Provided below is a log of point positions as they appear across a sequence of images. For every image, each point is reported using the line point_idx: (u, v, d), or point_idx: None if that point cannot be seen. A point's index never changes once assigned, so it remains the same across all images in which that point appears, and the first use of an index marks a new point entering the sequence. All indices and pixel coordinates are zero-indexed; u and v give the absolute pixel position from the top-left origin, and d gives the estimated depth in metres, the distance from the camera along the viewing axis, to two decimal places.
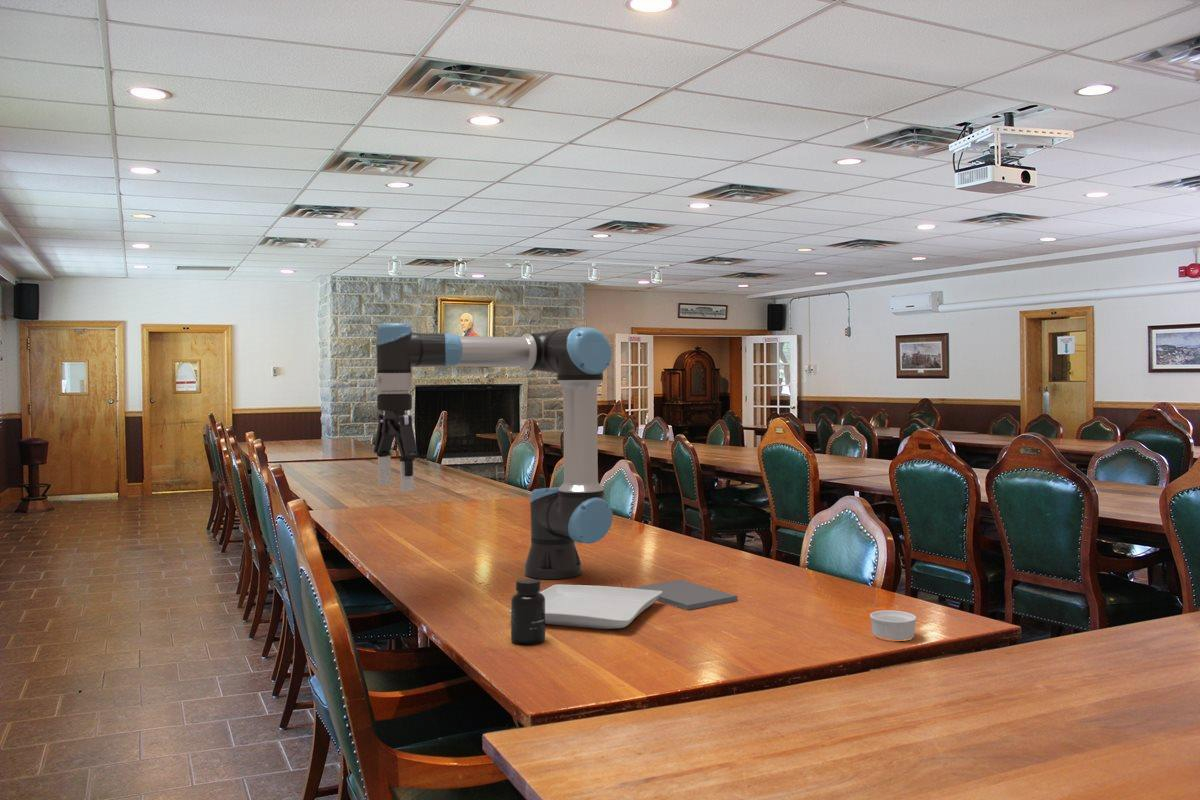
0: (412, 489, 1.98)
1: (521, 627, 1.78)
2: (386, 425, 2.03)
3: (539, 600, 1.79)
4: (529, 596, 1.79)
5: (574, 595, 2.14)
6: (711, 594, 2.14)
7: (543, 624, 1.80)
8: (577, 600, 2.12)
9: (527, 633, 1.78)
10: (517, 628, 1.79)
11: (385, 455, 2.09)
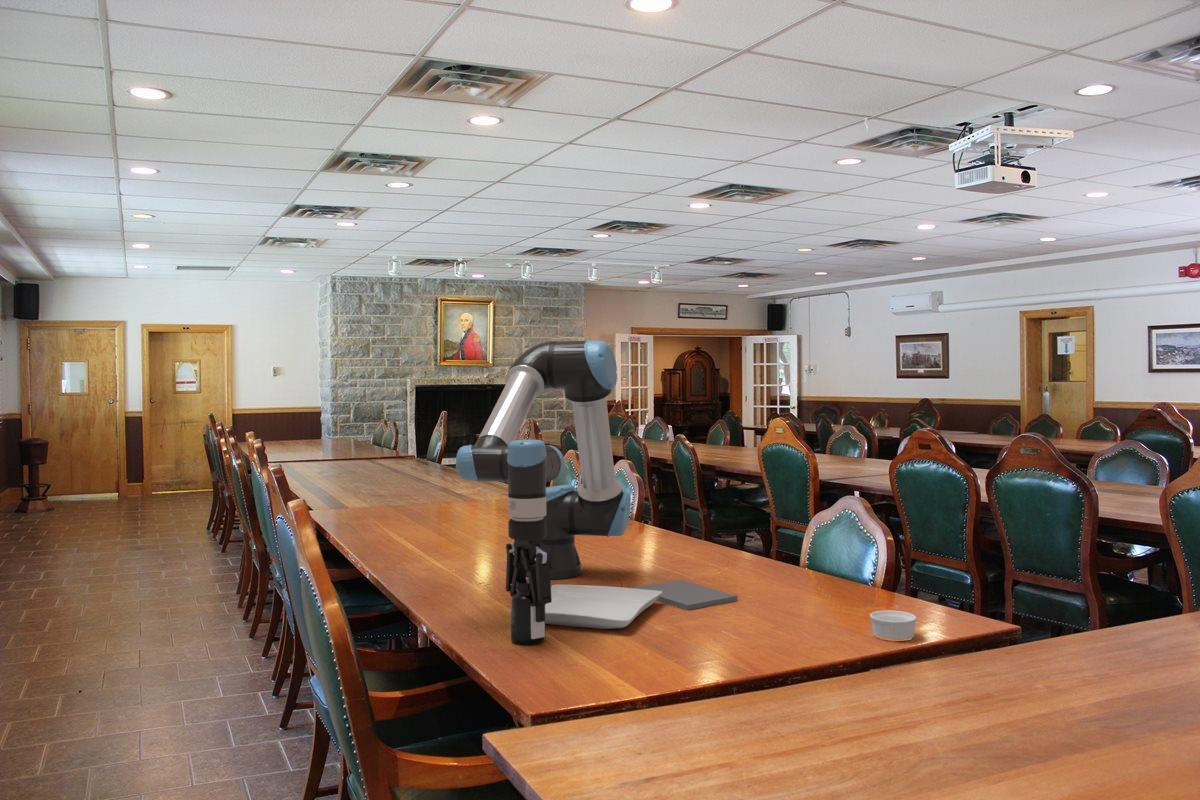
0: (543, 635, 1.79)
1: (521, 627, 1.78)
2: (518, 554, 1.81)
3: None
4: (529, 596, 1.79)
5: (574, 595, 2.14)
6: (711, 594, 2.14)
7: None
8: (577, 600, 2.12)
9: (527, 633, 1.78)
10: (517, 628, 1.79)
11: None
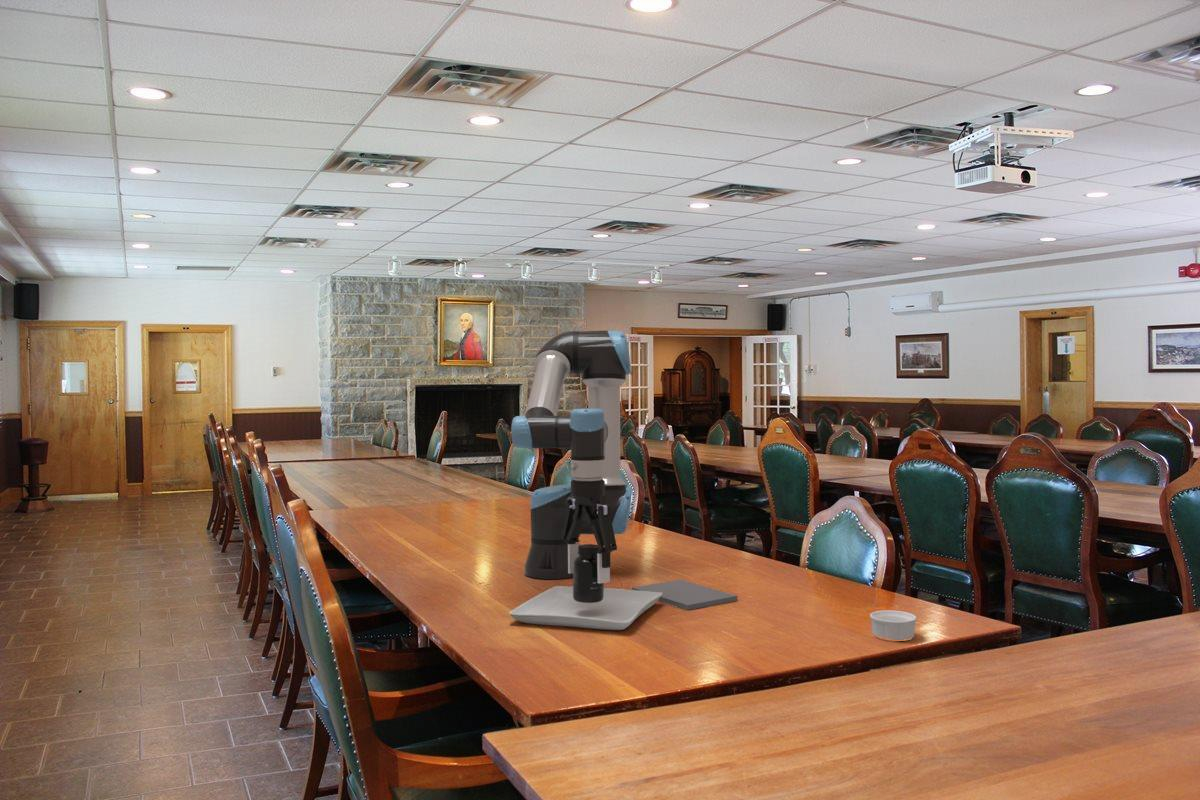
0: (608, 580, 1.97)
1: (583, 587, 1.98)
2: (579, 511, 2.01)
3: None
4: (591, 559, 1.99)
5: None
6: (711, 594, 2.14)
7: (602, 585, 2.00)
8: (577, 602, 2.12)
9: (588, 592, 1.98)
10: (579, 588, 1.99)
11: (574, 542, 2.07)
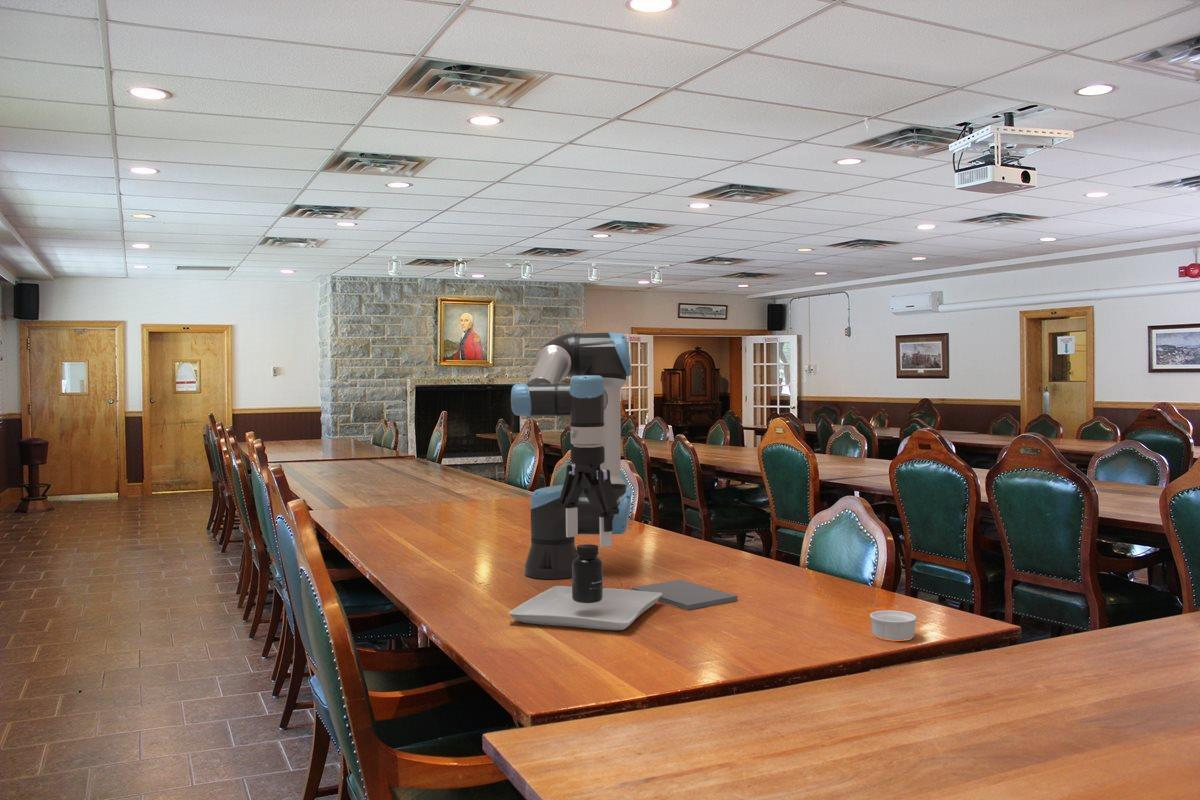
0: (610, 544, 1.96)
1: (582, 587, 1.98)
2: (579, 478, 2.01)
3: (597, 563, 1.99)
4: (589, 559, 1.99)
5: None
6: (711, 594, 2.14)
7: (601, 585, 2.00)
8: None
9: (587, 593, 1.98)
10: (578, 588, 1.99)
11: (572, 506, 2.07)
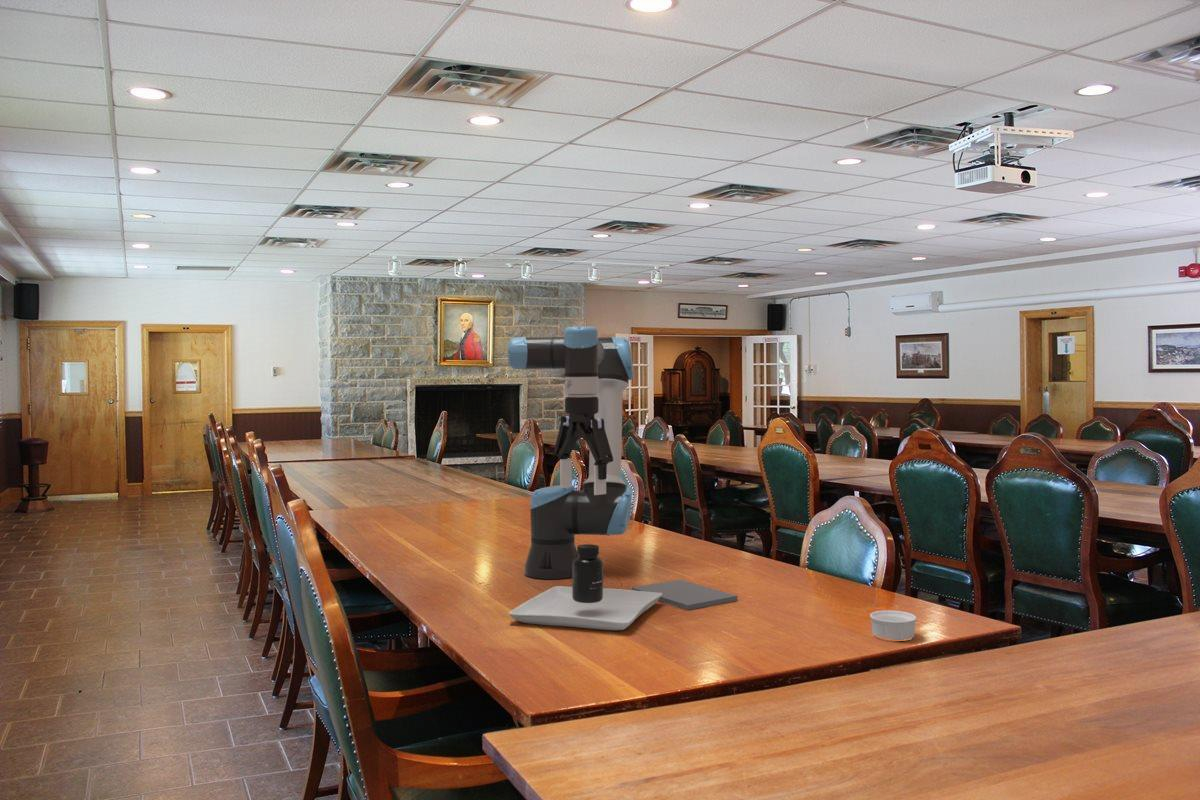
0: (605, 492, 1.99)
1: (582, 587, 1.98)
2: (573, 428, 2.03)
3: (598, 563, 1.99)
4: (590, 559, 1.99)
5: None
6: (711, 594, 2.14)
7: (602, 585, 2.00)
8: (577, 602, 2.12)
9: (588, 593, 1.98)
10: (579, 588, 1.99)
11: (566, 457, 2.10)
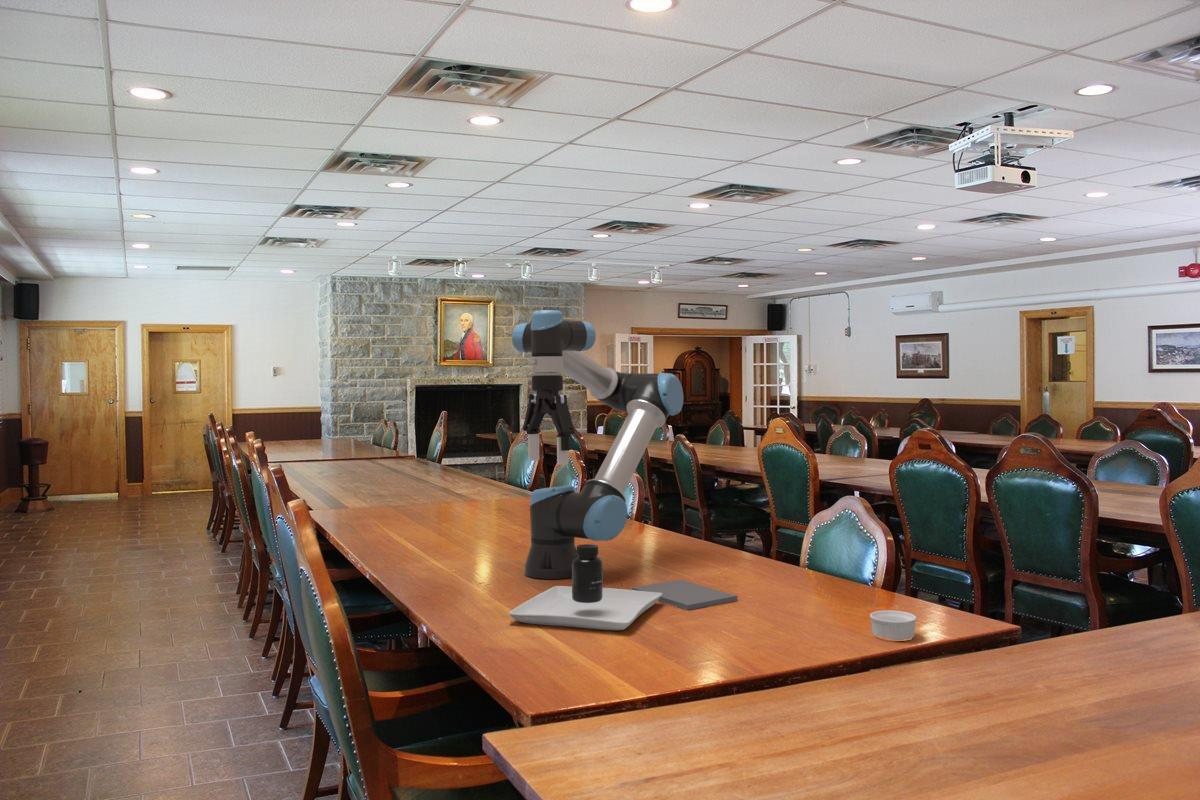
0: (567, 463, 2.15)
1: (582, 587, 1.98)
2: (539, 404, 2.20)
3: (597, 562, 1.99)
4: (589, 559, 1.99)
5: None
6: (711, 594, 2.14)
7: (601, 585, 2.00)
8: (577, 602, 2.12)
9: (587, 592, 1.98)
10: (578, 588, 1.99)
11: (534, 433, 2.27)
